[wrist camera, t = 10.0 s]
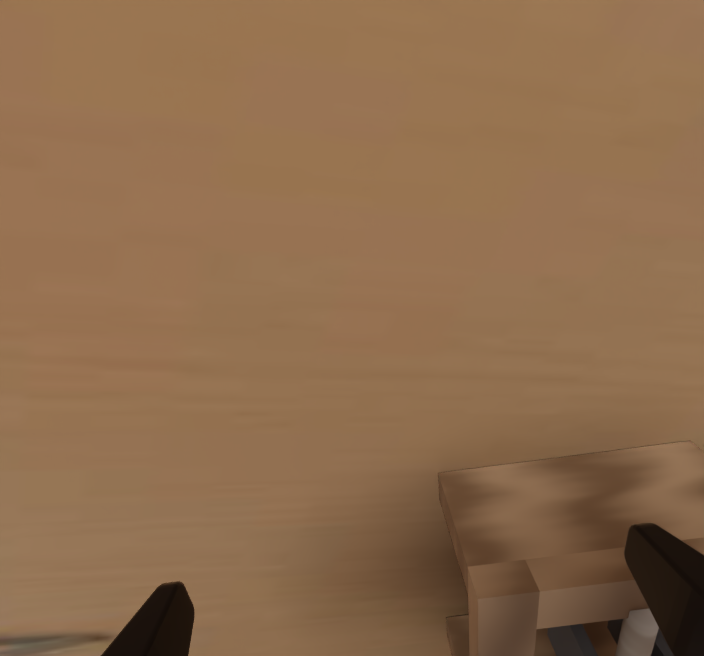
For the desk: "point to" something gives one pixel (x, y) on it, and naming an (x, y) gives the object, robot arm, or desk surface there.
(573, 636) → the grey slotted box
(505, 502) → the shelf
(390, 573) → the desk surface
